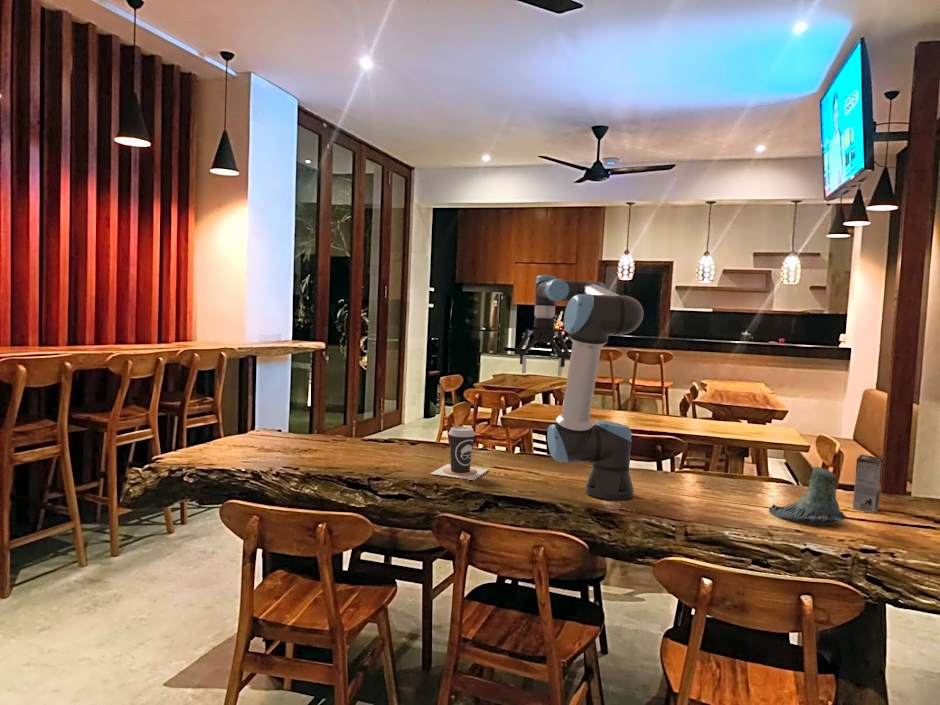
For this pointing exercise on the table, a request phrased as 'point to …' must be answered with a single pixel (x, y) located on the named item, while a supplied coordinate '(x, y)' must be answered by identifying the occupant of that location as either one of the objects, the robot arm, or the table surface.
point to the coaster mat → (471, 475)
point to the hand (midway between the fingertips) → (541, 374)
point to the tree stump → (814, 502)
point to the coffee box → (868, 483)
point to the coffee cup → (461, 448)
